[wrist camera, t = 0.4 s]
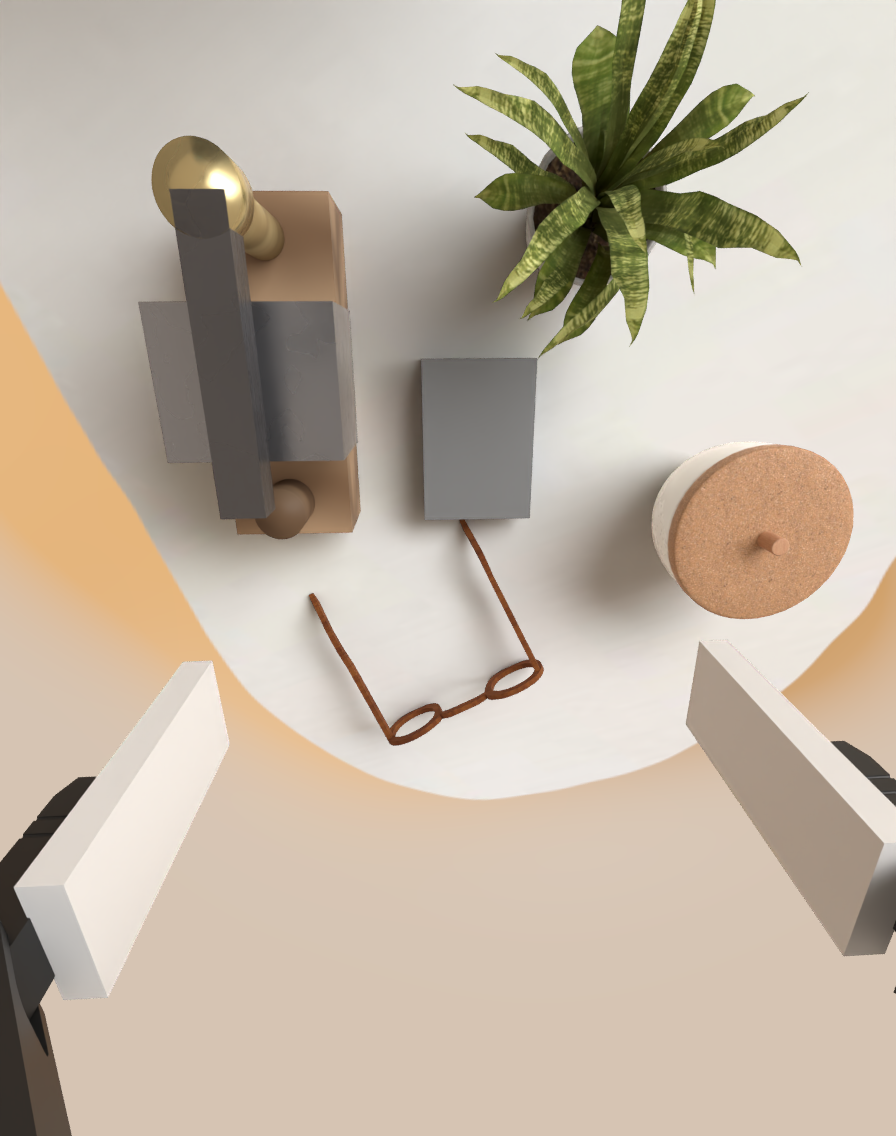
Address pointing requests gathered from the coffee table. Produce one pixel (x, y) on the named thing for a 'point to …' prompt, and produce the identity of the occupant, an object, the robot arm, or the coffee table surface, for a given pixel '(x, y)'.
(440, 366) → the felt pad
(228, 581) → the coffee table surface
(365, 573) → the coffee table surface
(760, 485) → the lidded jar
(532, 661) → the glasses
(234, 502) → the lever
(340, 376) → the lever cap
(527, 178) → the house plant
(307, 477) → the body
